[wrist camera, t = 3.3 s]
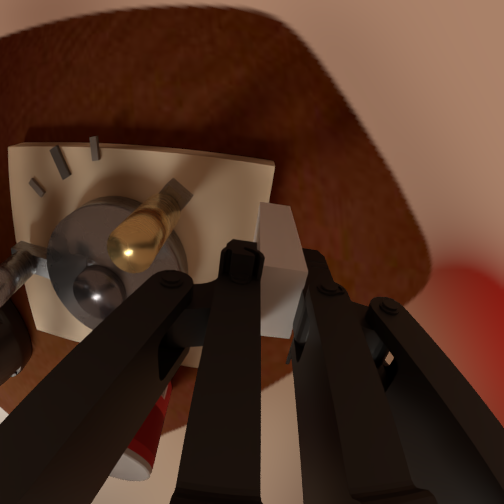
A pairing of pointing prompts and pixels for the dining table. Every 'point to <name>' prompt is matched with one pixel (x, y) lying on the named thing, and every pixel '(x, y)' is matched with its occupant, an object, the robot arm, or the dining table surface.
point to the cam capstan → (103, 252)
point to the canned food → (144, 444)
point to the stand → (140, 189)
